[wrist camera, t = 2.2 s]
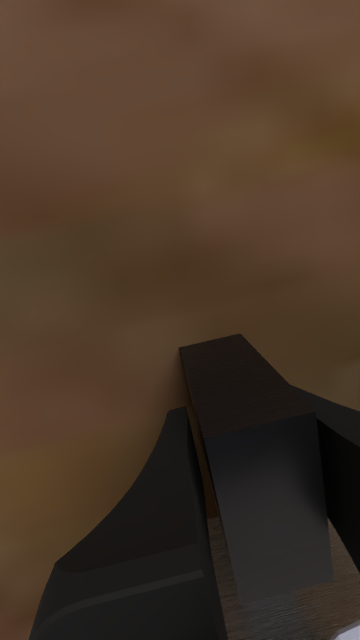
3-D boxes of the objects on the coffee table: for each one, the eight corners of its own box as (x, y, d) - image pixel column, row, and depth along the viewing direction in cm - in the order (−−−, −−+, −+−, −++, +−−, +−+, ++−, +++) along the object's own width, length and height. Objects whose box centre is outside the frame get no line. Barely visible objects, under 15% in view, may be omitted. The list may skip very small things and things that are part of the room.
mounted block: (164, 550, 15) (173, 746, 9) (111, 363, 13) (77, 468, 7) (327, 509, 15) (435, 673, 9) (306, 318, 13) (435, 382, 7)
